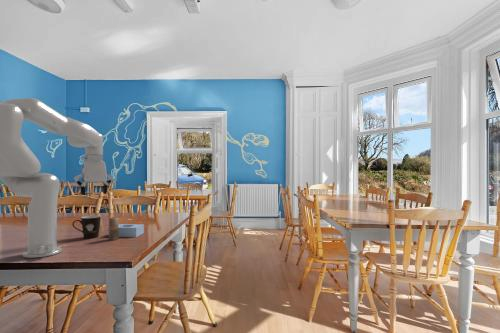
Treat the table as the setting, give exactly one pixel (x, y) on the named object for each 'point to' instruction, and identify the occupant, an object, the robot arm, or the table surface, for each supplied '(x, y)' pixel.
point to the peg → (113, 228)
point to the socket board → (130, 230)
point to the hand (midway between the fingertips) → (94, 194)
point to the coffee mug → (89, 226)
